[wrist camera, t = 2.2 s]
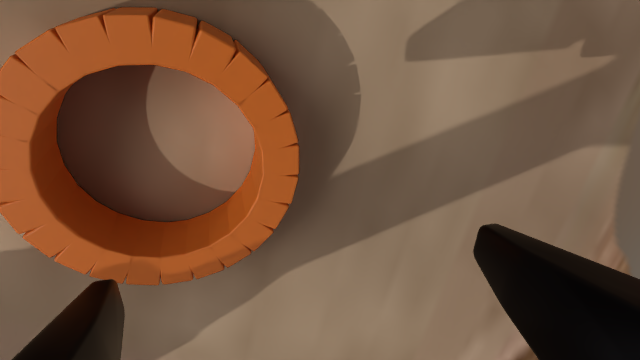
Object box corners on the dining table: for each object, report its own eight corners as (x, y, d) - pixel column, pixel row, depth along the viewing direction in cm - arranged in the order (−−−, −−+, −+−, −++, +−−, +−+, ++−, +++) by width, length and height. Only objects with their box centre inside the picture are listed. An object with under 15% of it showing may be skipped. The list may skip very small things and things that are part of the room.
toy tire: (57, 261, 16) (36, 305, 14) (-38, 5, 12) (-92, 13, 10) (288, 231, 19) (299, 264, 17) (285, 8, 14) (300, 15, 12)
